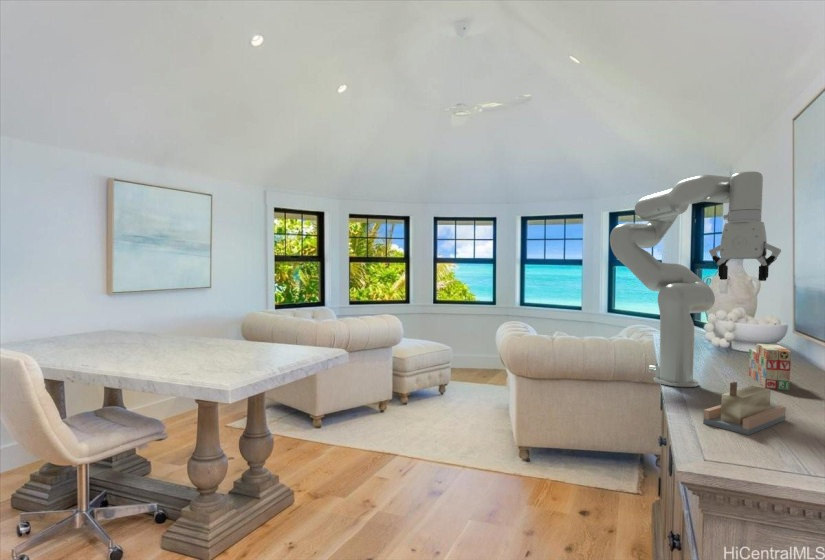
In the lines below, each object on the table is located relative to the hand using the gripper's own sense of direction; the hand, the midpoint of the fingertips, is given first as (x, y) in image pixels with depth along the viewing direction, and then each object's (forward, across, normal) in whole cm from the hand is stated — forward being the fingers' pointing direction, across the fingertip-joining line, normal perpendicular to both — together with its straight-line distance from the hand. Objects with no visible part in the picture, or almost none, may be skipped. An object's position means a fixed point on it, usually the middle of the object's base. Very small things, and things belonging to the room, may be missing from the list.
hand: (742, 280), depth 137 cm
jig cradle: (+33, +10, -21) cm, 41 cm away
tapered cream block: (+32, +10, -21) cm, 39 cm away
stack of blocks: (+34, -5, +33) cm, 48 cm away
